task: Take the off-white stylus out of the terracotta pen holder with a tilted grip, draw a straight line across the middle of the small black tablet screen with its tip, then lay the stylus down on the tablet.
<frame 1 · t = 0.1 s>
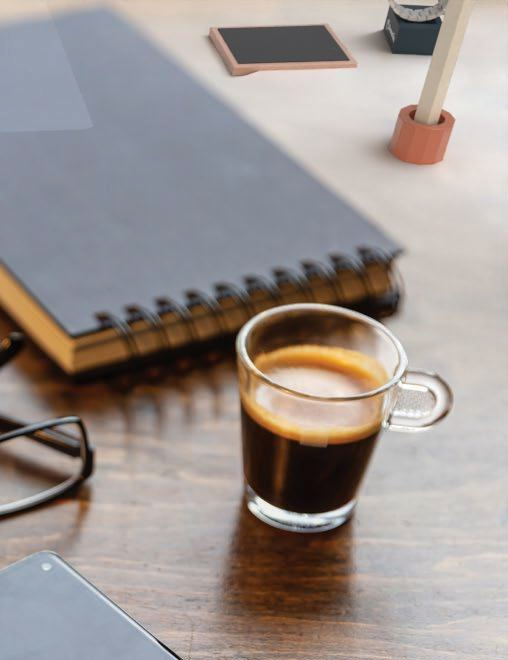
watch: (407, 49, 130), on the table
tablet: (280, 53, 129), on the table
stylus: (412, 165, 111), resting on pen holder
pen holder: (411, 170, 112), on the table
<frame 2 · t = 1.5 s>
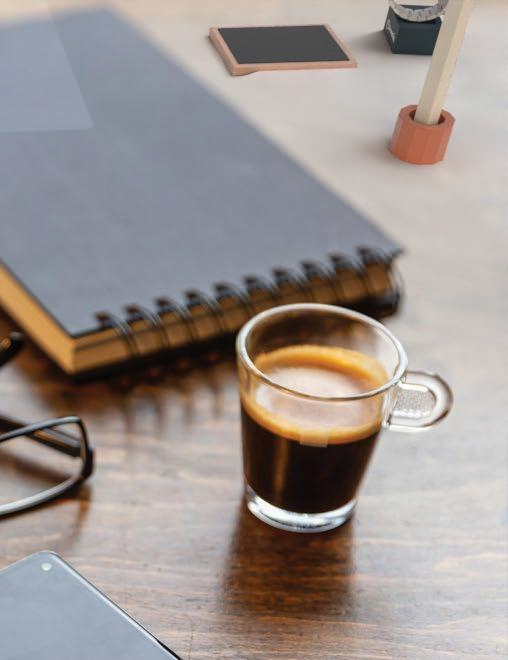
nothing on the table moved.
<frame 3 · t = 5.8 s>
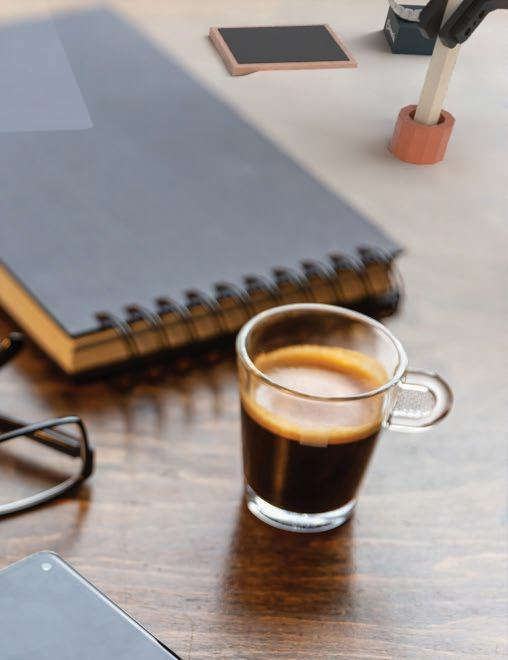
hand: (434, 37, 103), 12 cm above the table, tool tilted 45°, fingers closed on stylus, 1 cm apart
stylus: (412, 164, 111), point 1 cm above the table, touching gripper, pen holder
everything else where it was.
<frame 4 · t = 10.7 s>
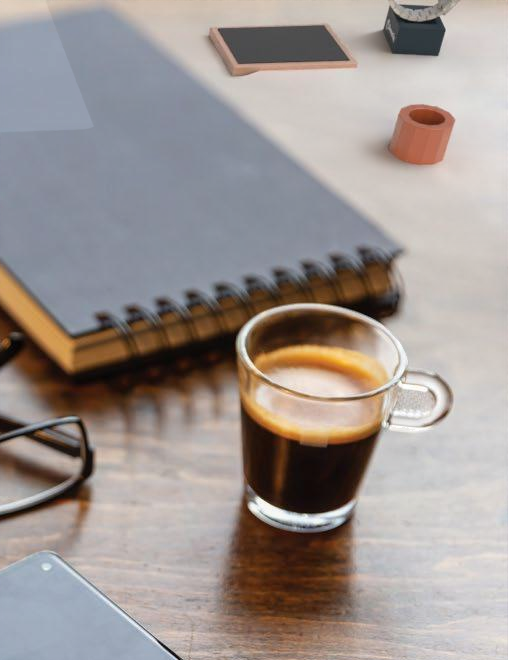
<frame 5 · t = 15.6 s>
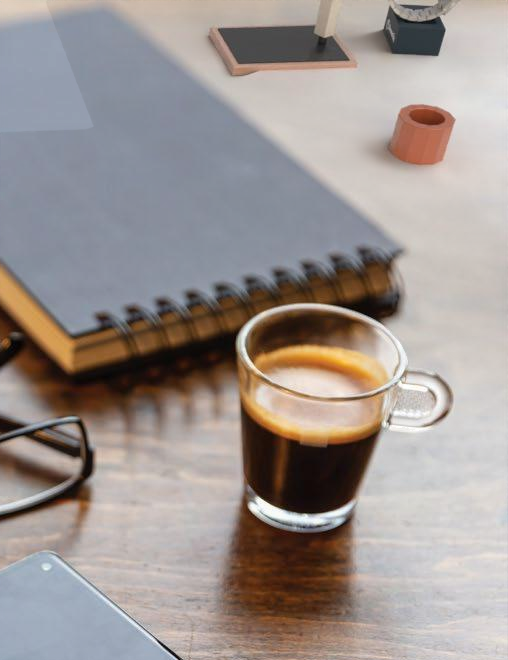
stylus: (322, 41, 128), point 1 cm above the table, touching gripper, tablet
everything else where it was.
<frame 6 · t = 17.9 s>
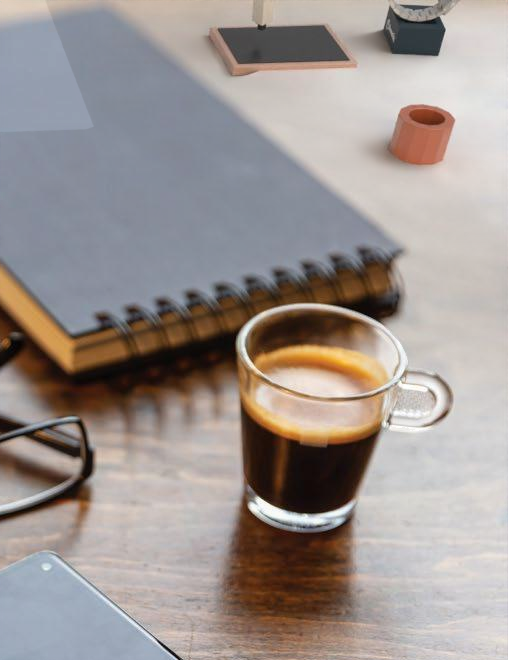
stylus: (261, 28, 128), point 2 cm above the table, tilted 9°, touching gripper
everything else where it was.
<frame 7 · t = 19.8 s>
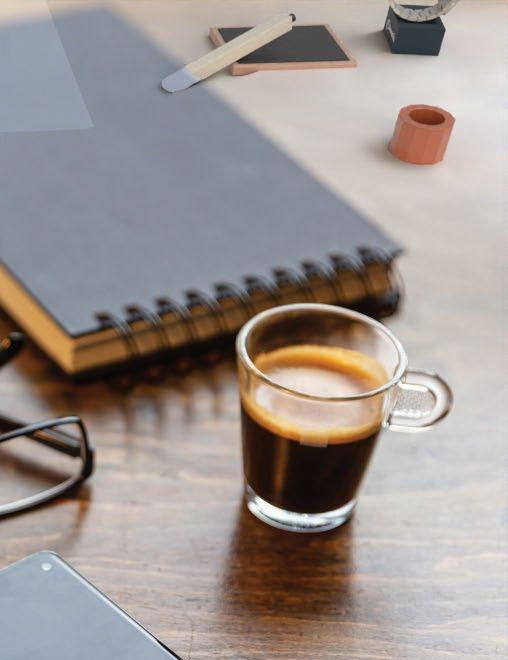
stylus: (293, 17, 127), point 3 cm above the table, tilted 102°
everything else where it was.
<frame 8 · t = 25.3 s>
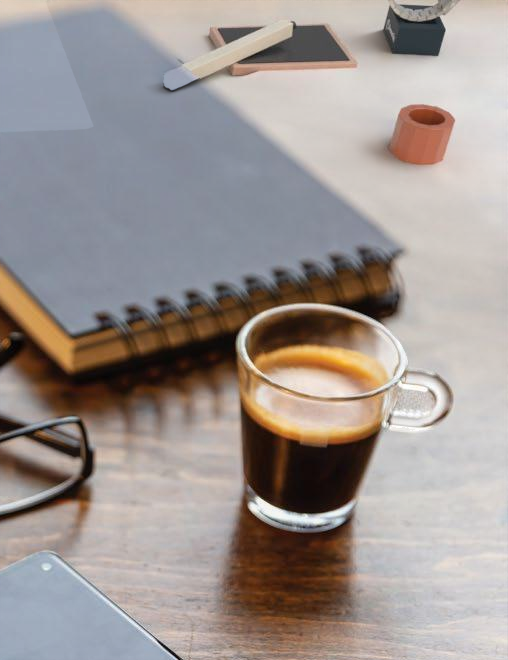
stylus: (293, 24, 128), point 3 cm above the table, tilted 96°, touching tablet
everything else where it was.
at the end: stylus inside the target area on the tablet (1.3 cm from its centre), point 2.5 cm above the tablet's base; the gripper is holding nothing; stylus moved 24.1 cm from its start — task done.
